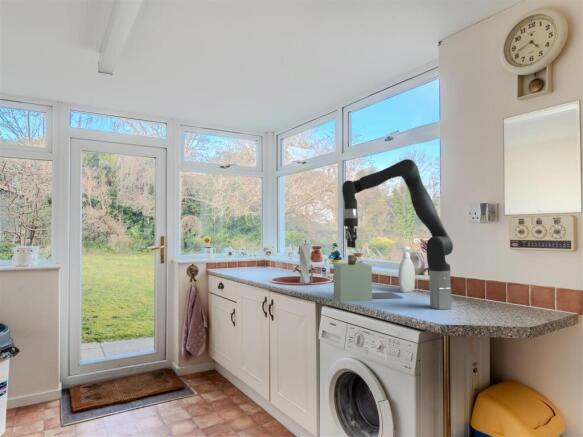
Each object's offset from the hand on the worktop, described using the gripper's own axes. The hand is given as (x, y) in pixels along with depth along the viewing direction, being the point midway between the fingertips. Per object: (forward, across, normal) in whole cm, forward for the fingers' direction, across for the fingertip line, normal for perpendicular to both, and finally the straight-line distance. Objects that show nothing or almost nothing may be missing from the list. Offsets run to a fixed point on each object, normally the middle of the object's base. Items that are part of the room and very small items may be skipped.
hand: (351, 247), depth 208 cm
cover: (+27, 0, 0) cm, 27 cm away
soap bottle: (+27, +16, -37) cm, 49 cm away
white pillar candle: (+27, +64, +16) cm, 71 cm away
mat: (+27, +4, -18) cm, 33 cm away
